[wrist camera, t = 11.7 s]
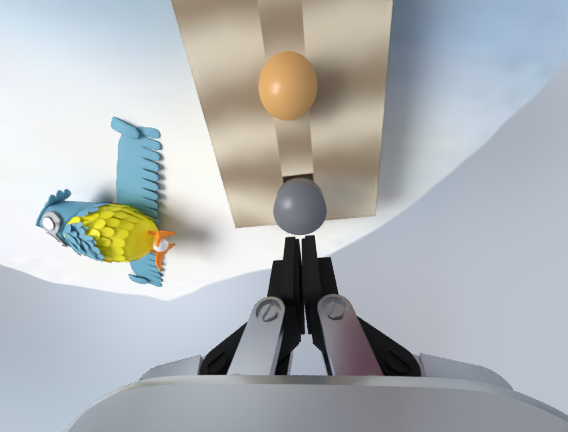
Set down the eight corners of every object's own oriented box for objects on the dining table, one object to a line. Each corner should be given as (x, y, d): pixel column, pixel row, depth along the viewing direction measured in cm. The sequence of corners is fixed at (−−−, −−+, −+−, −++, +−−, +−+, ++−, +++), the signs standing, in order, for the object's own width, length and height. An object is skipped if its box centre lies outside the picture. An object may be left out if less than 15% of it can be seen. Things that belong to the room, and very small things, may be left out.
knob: (276, 170, 21) (268, 190, 16) (318, 165, 21) (325, 184, 15) (281, 208, 23) (277, 236, 18) (320, 204, 23) (327, 232, 17)
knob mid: (264, 70, 20) (253, 57, 14) (310, 62, 19) (315, 45, 14) (272, 120, 22) (264, 124, 16) (313, 114, 21) (318, 116, 16)
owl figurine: (151, 335, 30) (47, 310, 30) (182, 290, 38) (100, 268, 37) (141, 149, 17) (-45, 93, 17) (190, 137, 25) (65, 99, 24)
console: (176, -72, 17) (132, -136, 12) (377, -127, 15) (411, -226, 11) (245, 209, 29) (235, 228, 24) (362, 198, 27) (375, 216, 22)
